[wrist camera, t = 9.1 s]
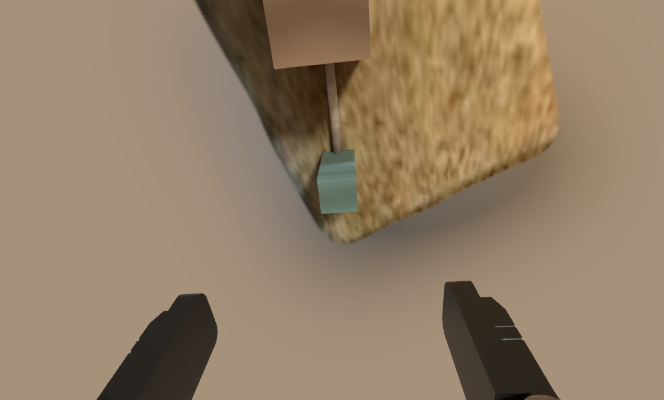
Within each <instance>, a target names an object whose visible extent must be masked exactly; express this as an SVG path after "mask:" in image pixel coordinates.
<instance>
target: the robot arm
mask: <svg viewBox="0 0 664 400" xmlns="http://www.w3.org/2000/svg"><path fill="white" fill-rule="evenodd" d="M443 301H444V302H443V314H442V320H443V329H444V334H445V337H446V340H447V343H448V346H449V349H450V352H451V355H452V358H453V361H454V364H455V367H456V370H457V373H458V376H459V379H460V382H461V385H462V388H463V391H464V394H465V397H466V400H560V399H559V398H558V396H557V395H556V393H555V392H554V391H553V389H552V387H551V386H550V384H549V382H548V380H547V379H546V377H545V375H544V374H543V372H542V370H541V368H540V367H539V365H538V364H537V362H536V360H535V358H534V357H533V355H532V353H531V352H530V350H529V348H528V347H527V345H526V343H525V341H523V340H522V336H521V335H520V333H519V331H518V330H517V328H515V325H514V323H513V321H512V319H511V318H510V316H509V314H508V313H507V311H506V309H504V308H503V307H502V306H501V305H500V304H499V303H497V302H496V301H495V300H494V299H493V298H492V297H480V296H479V294H478V292H477V290H476V288H475V287H474V285H473V283H472V282H471V281H456V282H446V283H445V287H444V300H443ZM216 340H217V325H216V322H215V319H214V316H213V313H212V311H211V308H210V305H209V303H208V300H207V297H206V296H205V295H204V294H202V293H201V294H182V295H179V296H178V297H177V298H176V300H175V301H174V303H173V304H172V306H171V307H170V309H169V310H168V311H163V312H162V313H161V314H160V315H159V316H158V317H156V318H155V319H154V320H153V321H152V322H151V323H150V324H149V325H148V326H147V328H146V329H145V331H144V332H143V334H142V335H141V336H140V338H139V341H137V342H136V344H135V345H134V346H133V348H132V350H131V353H129V354H128V355H127V357H126V358H125V360H124V361H123V362H122V364H121V365H120V367H119V368H118V370H117V371H116V373H115V374H114V375H113V377H112V378H111V380H110V381H109V383H108V384H107V385H106V387H105V388H104V390H103V391H102V393H101V394H100V396H99V397H98V398H97V400H192V397H193V395H194V392H195V390H196V388H197V386H198V383H199V381H200V379H201V376H202V374H203V372H204V369H205V367H206V365H207V362H208V360H209V358H210V355H211V353H212V351H213V348H214V346H215V344H216Z"/></svg>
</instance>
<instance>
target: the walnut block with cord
mask: <svg viewBox="0 0 664 400" xmlns="http://www.w3.org/2000/svg"><path fill="white" fill-rule="evenodd" d="M263 6H264V12H265V18H266V24H267V30H268V36H269V42H270V48H271V54H272V60H273V66H274V69H280V68H289V67H299V66H308V65H318V64H325V71H326V81H327V91H328V101H329V111H330V121H331V131H332V140H333V150H334V151H333V152H323V154H322V158H321V163H320V168H319V172H318V177H317V185H318V193H319V200H320V208H321V214H327V213H342V212H356V211H358V204H357V190H356V175H355V161H354V150H345V151H342V144H341V133H340V121H339V110H338V99H337V88H336V76H335V65H334V63H337V62H346V61H355V60H365V59H371V50H370V26H369V2H368V0H263Z"/></svg>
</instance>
